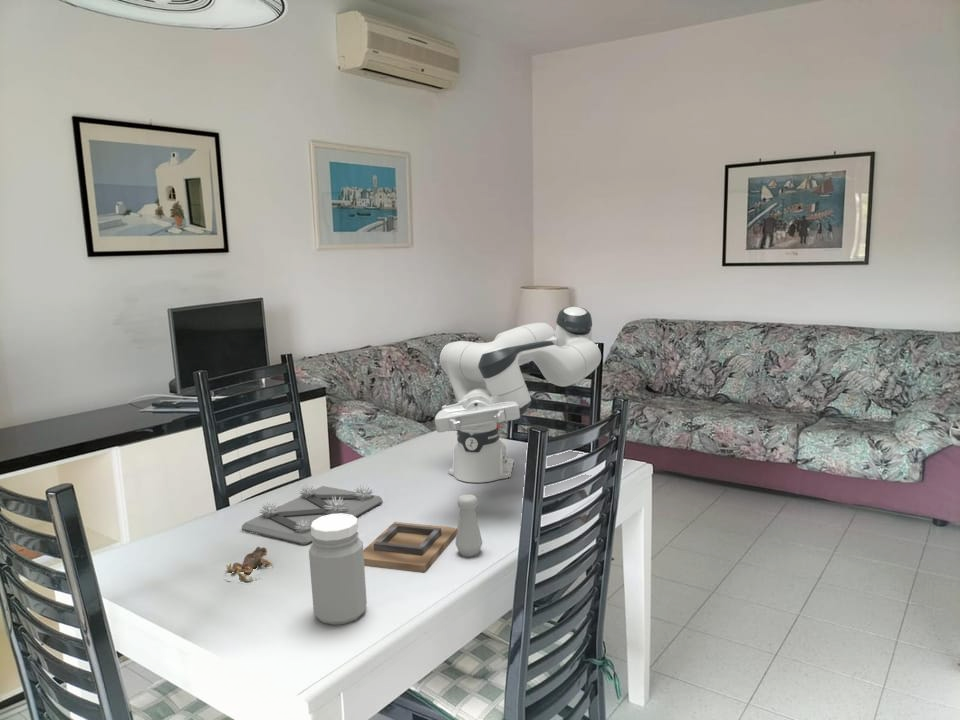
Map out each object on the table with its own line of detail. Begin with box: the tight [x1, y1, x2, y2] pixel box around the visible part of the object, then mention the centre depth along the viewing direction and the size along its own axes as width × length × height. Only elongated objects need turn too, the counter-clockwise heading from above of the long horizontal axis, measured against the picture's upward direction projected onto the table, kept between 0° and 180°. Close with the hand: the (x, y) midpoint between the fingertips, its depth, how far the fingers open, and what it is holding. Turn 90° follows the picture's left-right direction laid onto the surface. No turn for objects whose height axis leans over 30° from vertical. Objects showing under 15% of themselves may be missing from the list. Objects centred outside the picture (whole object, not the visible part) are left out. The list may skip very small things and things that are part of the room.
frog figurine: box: [224, 546, 273, 584], centre depth 150 cm, size 12×12×4 cm
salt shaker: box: [455, 494, 483, 558], centre depth 154 cm, size 6×6×13 cm
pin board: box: [363, 521, 458, 573], centre depth 158 cm, size 20×16×3 cm
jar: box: [308, 513, 368, 626], centre depth 130 cm, size 10×10×18 cm
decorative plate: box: [241, 484, 383, 546], centre depth 178 cm, size 30×22×7 cm
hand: (477, 422), depth 161 cm, fingers open, 8 cm apart
